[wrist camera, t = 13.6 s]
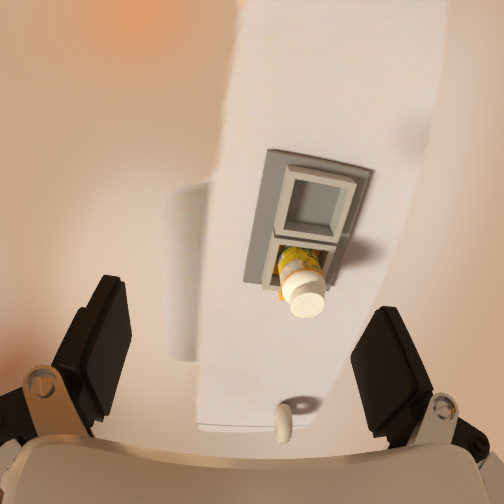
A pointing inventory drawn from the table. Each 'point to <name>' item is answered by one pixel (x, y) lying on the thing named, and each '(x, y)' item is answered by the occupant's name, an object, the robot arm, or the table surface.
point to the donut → (283, 423)
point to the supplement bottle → (301, 280)
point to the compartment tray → (302, 214)
